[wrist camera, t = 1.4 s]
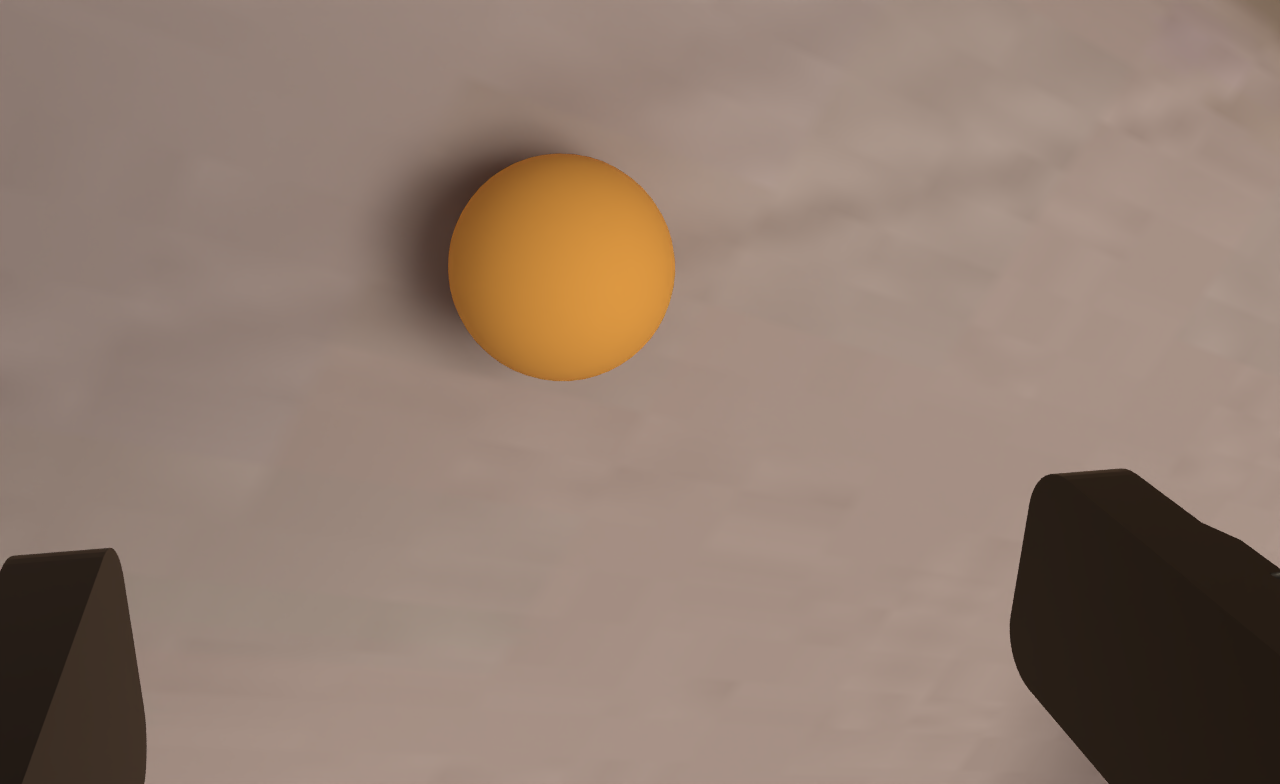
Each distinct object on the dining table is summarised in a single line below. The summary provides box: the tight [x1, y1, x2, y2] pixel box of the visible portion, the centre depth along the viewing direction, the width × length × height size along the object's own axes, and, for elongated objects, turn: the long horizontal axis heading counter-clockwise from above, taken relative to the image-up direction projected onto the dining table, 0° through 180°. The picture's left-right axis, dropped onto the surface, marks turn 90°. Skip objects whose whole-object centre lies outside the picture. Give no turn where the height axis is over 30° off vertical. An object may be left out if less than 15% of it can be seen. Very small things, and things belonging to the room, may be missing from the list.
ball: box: [448, 154, 675, 381], centre depth 27 cm, size 5×5×5 cm
